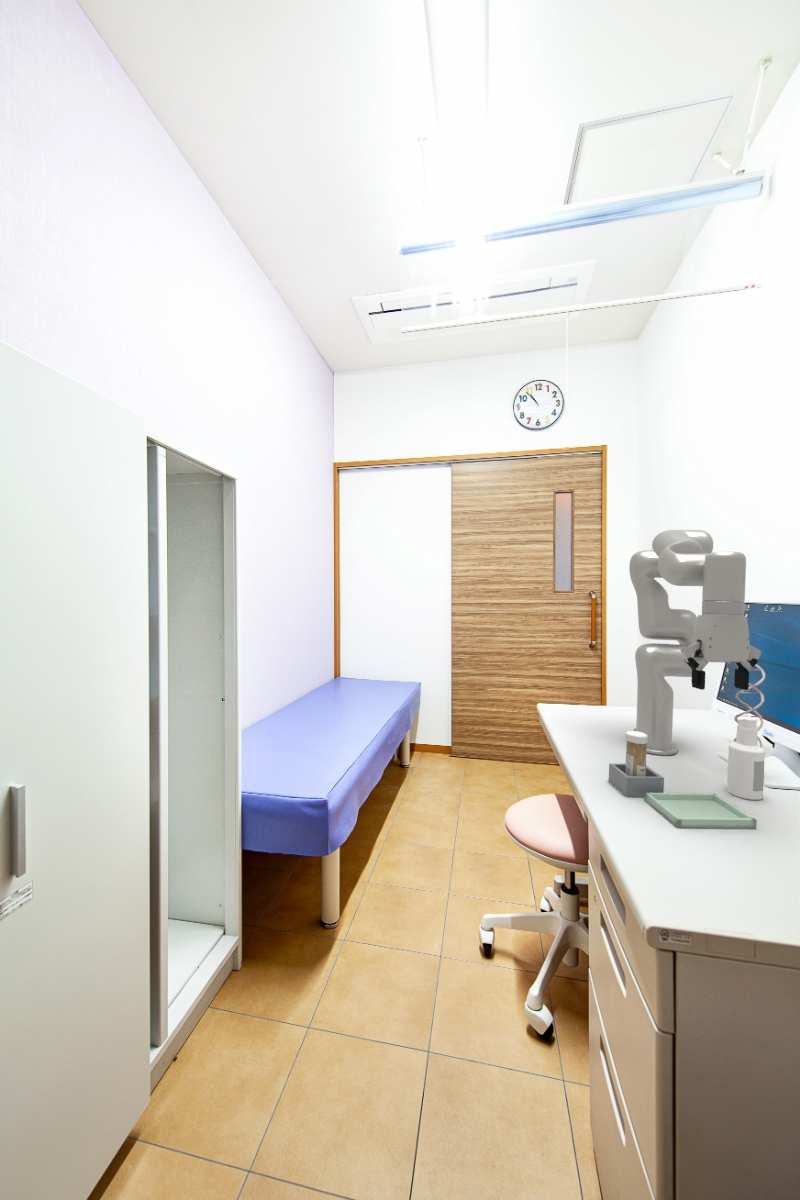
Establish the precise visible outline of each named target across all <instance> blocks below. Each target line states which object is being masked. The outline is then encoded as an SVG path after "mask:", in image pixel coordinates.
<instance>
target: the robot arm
mask: <svg viewBox="0 0 800 1200" xmlns="http://www.w3.org/2000/svg"><path fill="white" fill-rule="evenodd" d="M713 549H714V541H713V538H712V535H711V534H710V533H709V532H708V531H706V530H703V529H669V530H665V531H661V532H659V533H658V534H657V535H655V536H654V537H653V540H652V543H651V549H647V550H646V549H645V550H641V551H637V552H635V553H633V554H632V556H631V558H630V560H629V576H630V580H631V584H632V586H633V588H634V591H635V594H636V600H637V603H636V604H637V618H638V629H639V633H640V635H641V637H643V638H644V639H648V640H655V641H656V640H657V641H677V642H678V644H674V643H673V644H670V643H653V642H652V643H644V644H641V645H640V646H638V647H637V649H636V651H635V654H634V657H635V659H634V660H635V661H634V662H635V667H636V676H637V679H636V680H637V697H636V698H637V699H636V726H635V727H636V728H634V729H633V730H632V731H638V732H642V733H645V734H646V735H647V736H648V740H647V745H646V754H652V755H657V756H658V755H660V756H672V755H676V754H678V752H679V751H678V750H679V748H678V747H677V746H676V744H675V745H674V743H672V742H673V725H674V723H673V722H674V721H673V718H674V690H673V688H672V686H671V685H670V683H668V681H667V680H666V678H665V677H676V678H677V677H679V678H680V677H681V678H691V679H690V680H691V686H692V688H695V689H698V690H702V691H703V690H705V688H706V671H705V670H704V669H705V667H707V665H708V664H709V663H732V664H734V665H735V667H737V668H736V669H735V668H734V680H733V681H734V682H733V684H734V685H733V686H734V688H736V689H740V690H746V691H747V690H748V689H749V687H750V685H749V683H750V672H752V671H753V669H754V667H756V666H755V665H756V664H757V665H758V662H759V661H758V660H759V659H760V657H761V655H762V653H763V652H762V650H760V649H758V648H757V647H756V646H753V645H751V644H750V643H751V642H750V631H749V624H748V623H749V622H748V618H747V616H745V611H746V612H747V611H748V610H749V606H748V604H745V601H746V600H745V599H746V579H747V577H746V576H747V575H746V574H747V573H746V572H747V558H746V555H745V554H744V553H742V552H740V551H714V550H713ZM713 551H714V552H713ZM657 578H658V579H663V580H665V582H667V583H668V584H670V585H673V586H677V587H702V593H701V594H702V595H701V597H702V598H701V600H702V601H701V614H697V615H696V614H695V613H694V612H693V611H692V610H690V609H685V608H683V609H682V608H680V609H679V608H678V609H677V608H671V607H670V605H669V594H668V592H667V590H666V589H665V588H664V586H663V585H662V584H661V583H660V582H659V581H657ZM749 690H750V689H749Z"/></svg>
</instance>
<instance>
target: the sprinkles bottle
mask: <svg viewBox="0 0 800 1200" xmlns="http://www.w3.org/2000/svg"><path fill="white" fill-rule="evenodd" d="M647 740H648V736H647V735H646V734H645V733H642V732H638V731H633V730H628V731H627V732H626V734H625V741H626V748H625V749H626V750H625V764H626V771H625V774H626V775H628V776H646V766H647V753H646V745H647Z"/></svg>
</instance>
